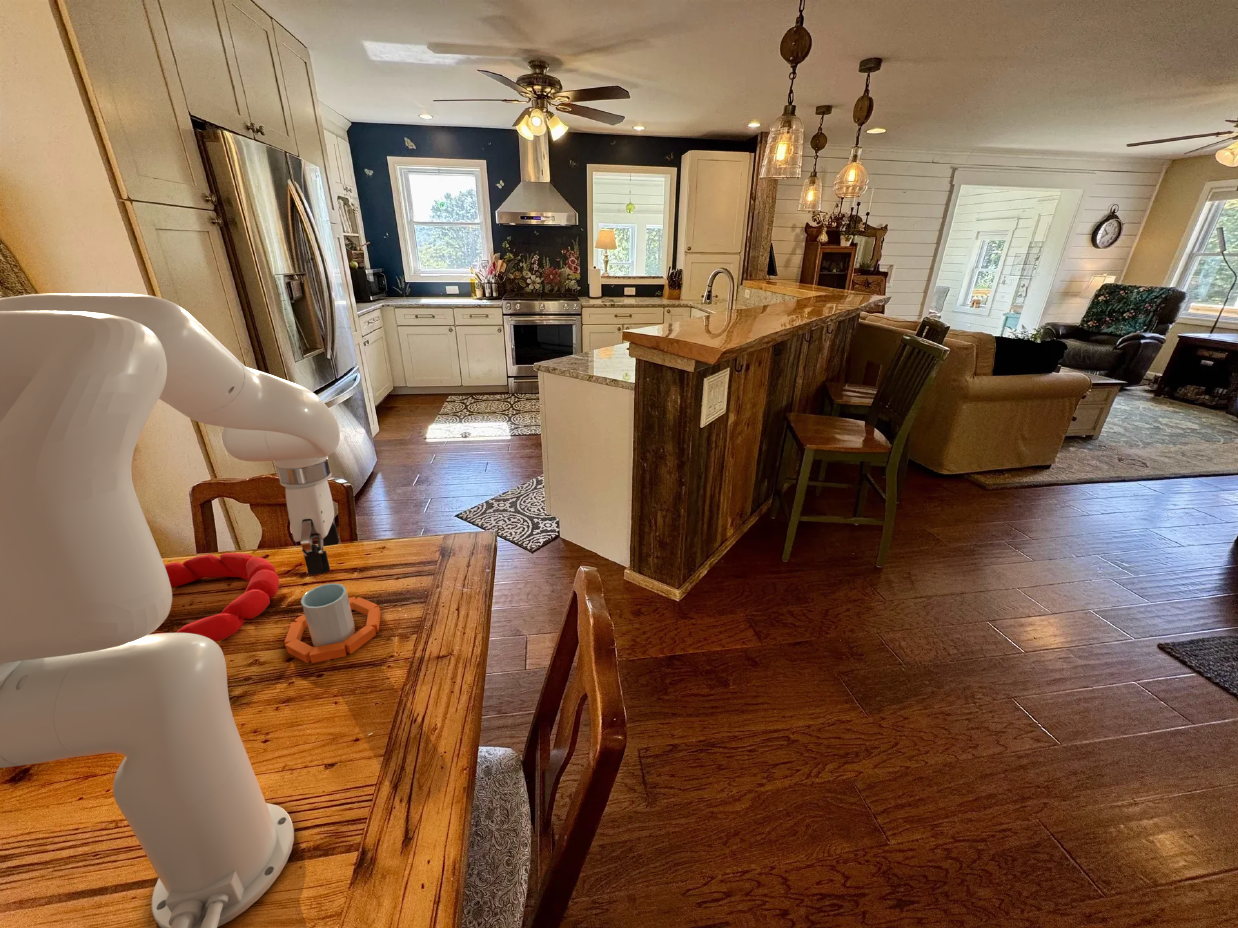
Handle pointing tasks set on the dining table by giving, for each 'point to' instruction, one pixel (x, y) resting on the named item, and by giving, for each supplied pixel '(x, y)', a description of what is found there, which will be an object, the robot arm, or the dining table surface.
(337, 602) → the cup
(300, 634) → the ring
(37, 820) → the dining table surface
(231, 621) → the decorative ring
